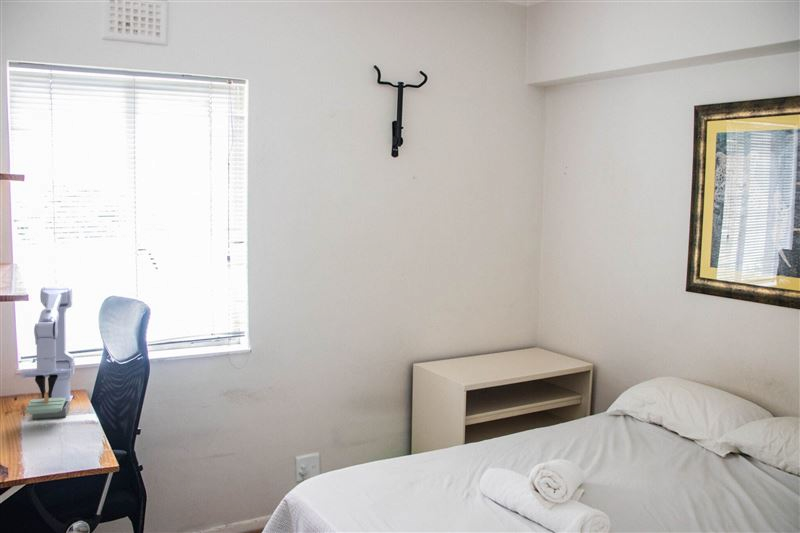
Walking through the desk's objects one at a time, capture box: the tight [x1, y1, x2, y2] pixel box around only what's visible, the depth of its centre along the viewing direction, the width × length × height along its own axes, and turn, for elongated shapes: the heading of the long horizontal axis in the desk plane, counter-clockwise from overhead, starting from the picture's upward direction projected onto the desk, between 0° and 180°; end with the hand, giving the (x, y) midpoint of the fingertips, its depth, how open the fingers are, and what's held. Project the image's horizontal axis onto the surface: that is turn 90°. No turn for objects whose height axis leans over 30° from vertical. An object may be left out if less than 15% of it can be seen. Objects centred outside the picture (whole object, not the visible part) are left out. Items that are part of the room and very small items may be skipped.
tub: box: [32, 401, 71, 421], centre depth 229 cm, size 10×10×3 cm
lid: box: [24, 389, 66, 415], centre depth 218 cm, size 10×10×5 cm
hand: (46, 397), depth 220 cm, fingers closed on lid
